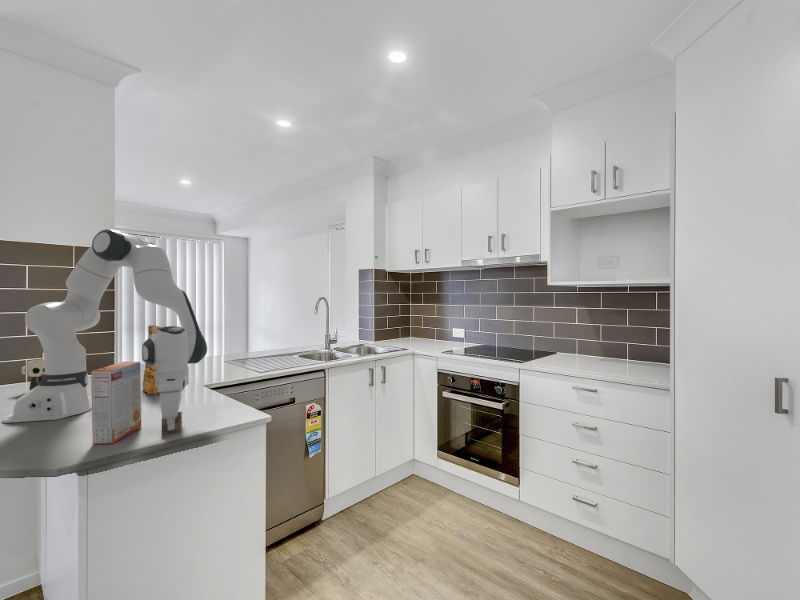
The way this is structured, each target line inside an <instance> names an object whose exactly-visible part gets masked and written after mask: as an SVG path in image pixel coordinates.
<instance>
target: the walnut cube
mask: <svg viewBox="0 0 800 600" xmlns="http://www.w3.org/2000/svg"><path fill="white" fill-rule="evenodd" d="M182 426H183V411H178V415H177V417H175V429H174V430H168V424H167V419H164V418H163V416H162V415H161V436H162V435H169V434H170V435H171V434H176V433H177V434H178V433H181V432H182V428H183V427H182Z"/></svg>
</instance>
